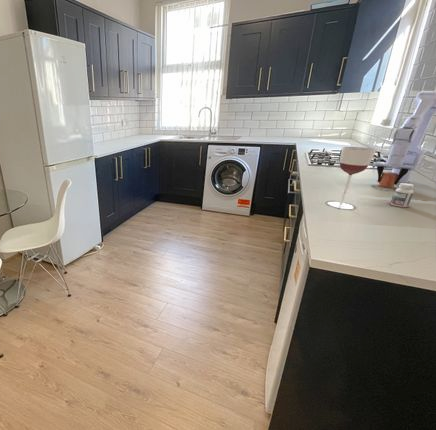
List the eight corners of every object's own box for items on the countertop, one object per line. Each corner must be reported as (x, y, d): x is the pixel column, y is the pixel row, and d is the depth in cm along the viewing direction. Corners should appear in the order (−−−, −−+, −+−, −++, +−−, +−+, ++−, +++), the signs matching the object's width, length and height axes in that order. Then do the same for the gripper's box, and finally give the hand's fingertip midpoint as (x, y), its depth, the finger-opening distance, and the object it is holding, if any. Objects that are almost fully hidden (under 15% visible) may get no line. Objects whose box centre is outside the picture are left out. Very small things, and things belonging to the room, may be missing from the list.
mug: (378, 184, 140) (383, 171, 138) (394, 186, 136) (399, 173, 134) (376, 186, 135) (381, 173, 133) (392, 189, 132) (397, 175, 129)
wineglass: (361, 210, 109) (382, 150, 101) (332, 208, 111) (350, 150, 102) (347, 202, 118) (366, 147, 109) (321, 200, 119) (337, 146, 111)
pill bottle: (400, 203, 117) (408, 182, 113) (411, 207, 112) (420, 186, 108) (386, 202, 117) (394, 182, 114) (397, 207, 112) (405, 185, 109)
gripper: (376, 154, 133) (367, 182, 138) (419, 158, 124) (407, 187, 129) (376, 152, 138) (367, 179, 143) (418, 155, 129) (407, 184, 134)
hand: (386, 183), depth 136 cm, fingers closed on mug, 5 cm apart
